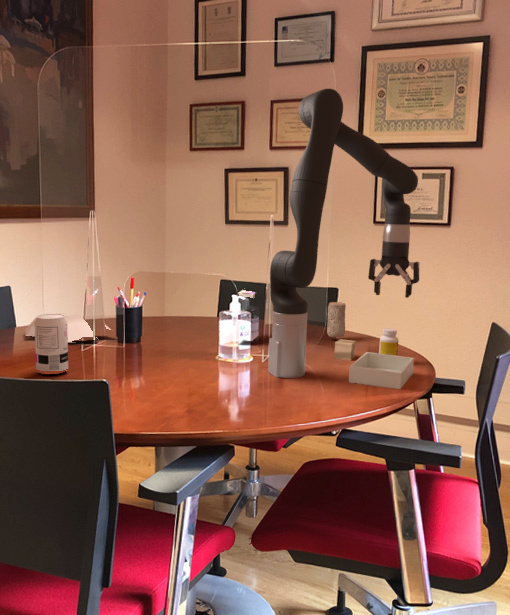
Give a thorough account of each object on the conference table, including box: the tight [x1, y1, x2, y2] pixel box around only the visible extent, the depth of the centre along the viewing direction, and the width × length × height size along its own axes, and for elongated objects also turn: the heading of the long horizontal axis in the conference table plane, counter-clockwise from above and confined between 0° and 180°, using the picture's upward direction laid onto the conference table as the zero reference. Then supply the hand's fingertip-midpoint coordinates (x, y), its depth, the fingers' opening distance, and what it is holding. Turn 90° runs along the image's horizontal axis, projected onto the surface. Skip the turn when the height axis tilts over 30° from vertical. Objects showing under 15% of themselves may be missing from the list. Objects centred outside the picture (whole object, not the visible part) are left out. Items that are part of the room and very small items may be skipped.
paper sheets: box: [24, 315, 112, 343], centre depth 211 cm, size 35×20×6 cm, turn 66°
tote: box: [348, 351, 415, 390], centre depth 165 cm, size 17×13×5 cm
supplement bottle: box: [378, 328, 399, 356], centre depth 183 cm, size 5×5×10 cm
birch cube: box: [333, 338, 357, 361], centre depth 187 cm, size 5×5×5 cm
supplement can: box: [34, 313, 69, 371], centre depth 164 cm, size 8×8×15 cm
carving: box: [326, 301, 347, 338], centre depth 215 cm, size 6×8×12 cm
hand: (392, 296), depth 180 cm, fingers open, 8 cm apart
